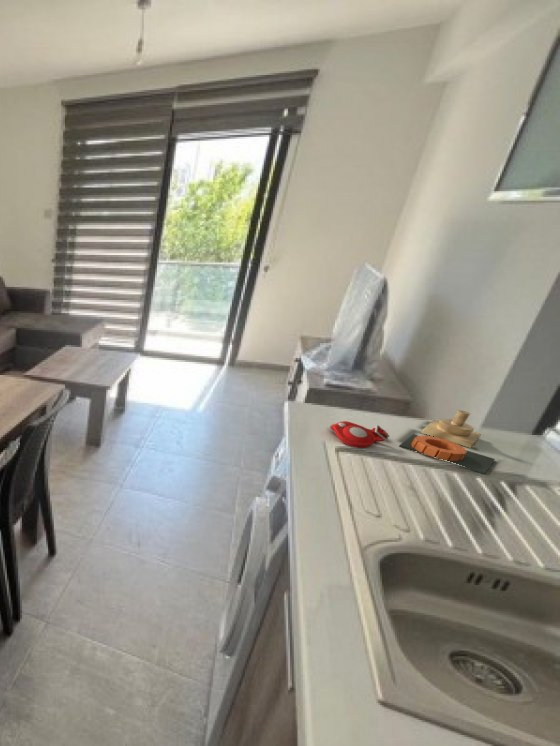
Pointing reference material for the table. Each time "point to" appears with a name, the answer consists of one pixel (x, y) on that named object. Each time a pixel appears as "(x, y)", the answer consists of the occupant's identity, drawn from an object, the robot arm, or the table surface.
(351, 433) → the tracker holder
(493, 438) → the table surface
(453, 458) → the ring
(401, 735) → the table surface
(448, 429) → the stand
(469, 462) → the mat
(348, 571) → the table surface
